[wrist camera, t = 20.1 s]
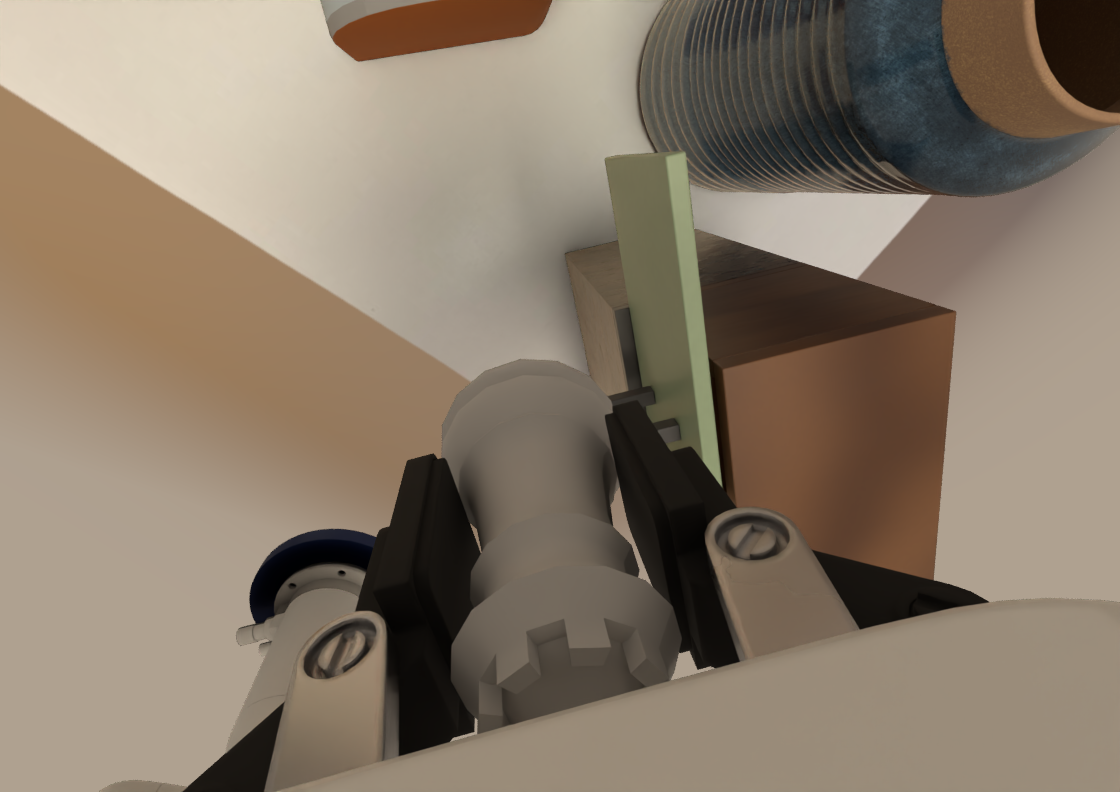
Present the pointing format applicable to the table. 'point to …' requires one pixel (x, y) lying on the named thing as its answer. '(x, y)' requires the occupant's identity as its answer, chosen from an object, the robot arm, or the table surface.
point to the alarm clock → (426, 24)
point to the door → (664, 299)
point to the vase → (881, 92)
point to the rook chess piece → (547, 551)
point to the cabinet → (805, 393)
